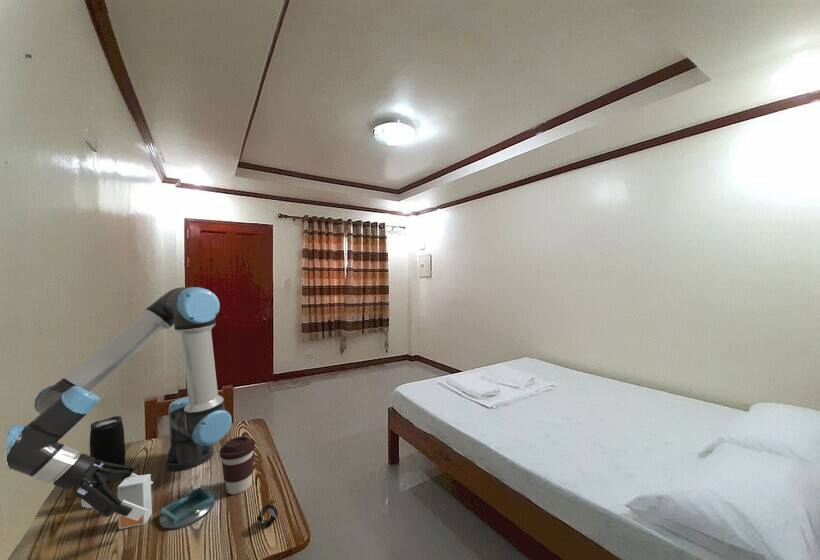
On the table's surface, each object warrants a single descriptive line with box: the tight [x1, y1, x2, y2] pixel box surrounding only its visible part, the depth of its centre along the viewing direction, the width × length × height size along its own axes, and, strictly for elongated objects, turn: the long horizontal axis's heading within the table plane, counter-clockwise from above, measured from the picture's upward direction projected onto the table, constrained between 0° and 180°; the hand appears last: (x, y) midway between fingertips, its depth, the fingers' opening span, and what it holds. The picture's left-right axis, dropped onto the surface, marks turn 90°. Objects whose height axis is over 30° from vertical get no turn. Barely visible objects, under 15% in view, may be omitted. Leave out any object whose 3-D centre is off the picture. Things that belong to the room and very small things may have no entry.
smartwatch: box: [256, 503, 279, 528], centre depth 85 cm, size 4×5×5 cm
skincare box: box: [116, 473, 153, 530], centre depth 87 cm, size 6×4×12 cm
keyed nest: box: [159, 487, 216, 531], centre depth 91 cm, size 13×13×3 cm
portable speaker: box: [89, 415, 126, 470], centre depth 107 cm, size 9×9×20 cm
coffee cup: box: [219, 435, 256, 495], centre depth 100 cm, size 10×10×15 cm
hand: (146, 500), depth 88 cm, fingers open, 13 cm apart
